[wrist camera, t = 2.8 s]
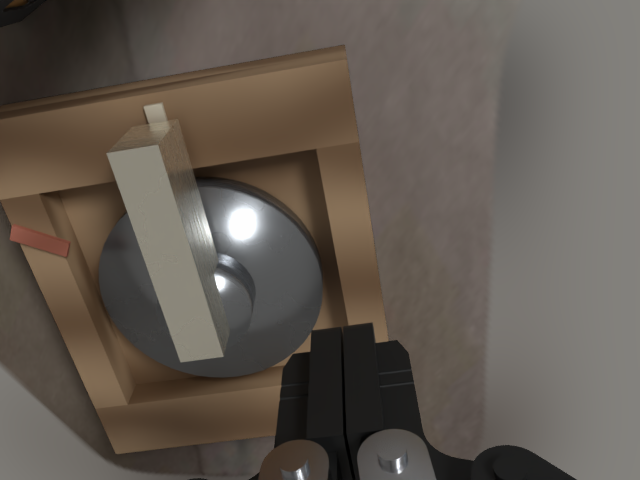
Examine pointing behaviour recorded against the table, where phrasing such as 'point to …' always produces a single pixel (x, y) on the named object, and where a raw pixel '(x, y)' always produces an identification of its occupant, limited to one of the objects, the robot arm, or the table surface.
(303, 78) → the wooden tray
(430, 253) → the table surface
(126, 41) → the table surface
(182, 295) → the dial
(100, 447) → the table surface
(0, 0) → the ammunition clip
